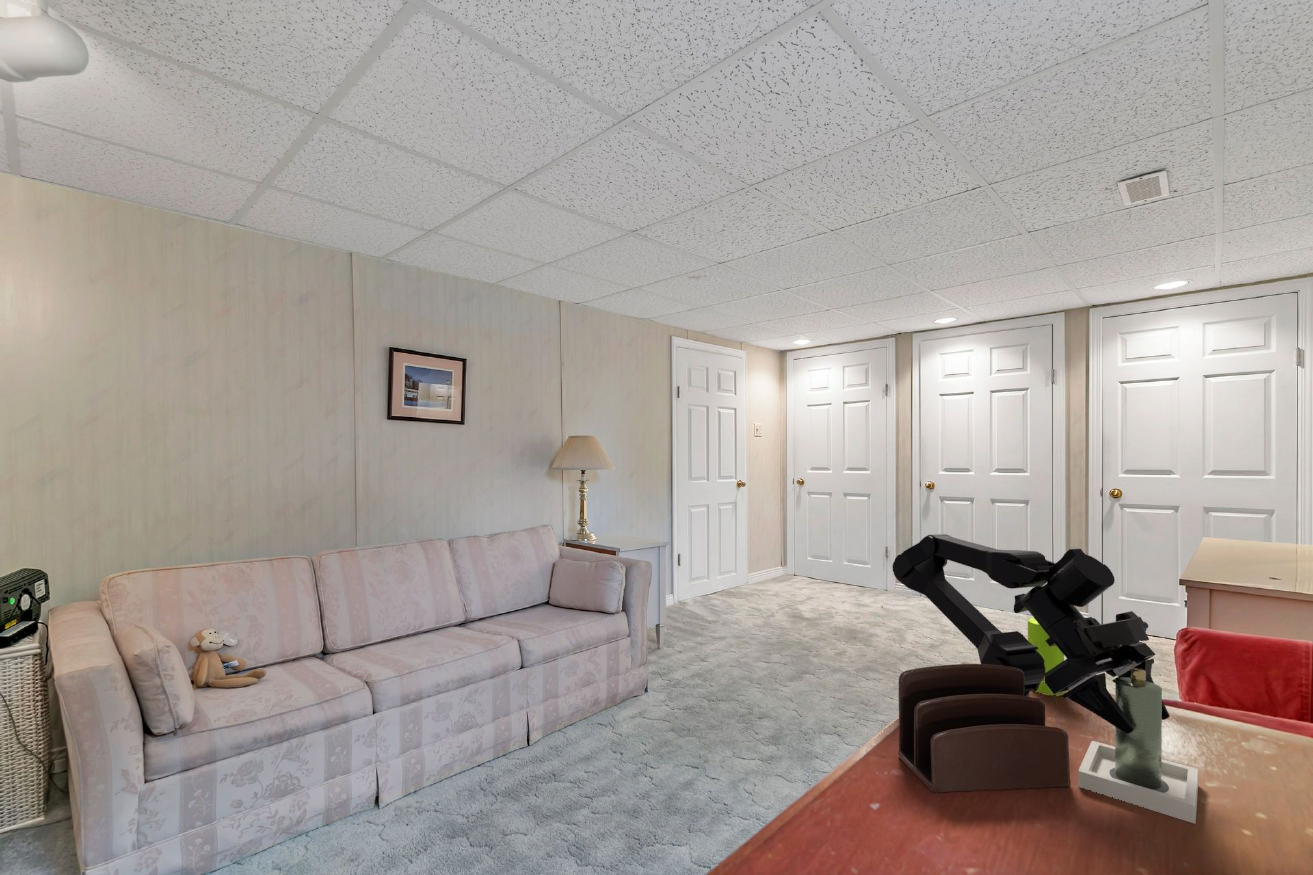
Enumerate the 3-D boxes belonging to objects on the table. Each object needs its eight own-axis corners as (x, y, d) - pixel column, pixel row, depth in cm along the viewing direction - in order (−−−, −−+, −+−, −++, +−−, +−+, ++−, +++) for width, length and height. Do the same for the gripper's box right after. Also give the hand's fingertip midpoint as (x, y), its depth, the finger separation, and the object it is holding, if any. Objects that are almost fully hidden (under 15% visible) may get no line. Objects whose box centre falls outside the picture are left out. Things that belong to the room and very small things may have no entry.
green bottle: (1105, 770, 85) (1106, 663, 86) (1137, 768, 86) (1137, 662, 86) (1138, 790, 81) (1138, 677, 81) (1171, 788, 81) (1171, 676, 81)
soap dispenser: (1076, 697, 113) (1075, 590, 114) (1035, 694, 115) (1034, 588, 115) (1062, 685, 119) (1060, 583, 120) (1023, 683, 120) (1022, 582, 121)
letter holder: (897, 757, 91) (896, 663, 92) (1022, 752, 93) (1021, 660, 93) (932, 794, 81) (931, 689, 82) (1071, 789, 83) (1070, 685, 83)
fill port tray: (1078, 786, 83) (1078, 770, 83) (1092, 755, 92) (1091, 740, 92) (1195, 823, 75) (1195, 805, 75) (1198, 784, 84) (1197, 768, 84)
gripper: (1066, 600, 83) (1163, 712, 73) (1138, 586, 92) (1234, 685, 81) (1011, 641, 90) (1093, 749, 80) (1082, 625, 98) (1165, 721, 88)
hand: (1149, 725), depth 82 cm, fingers open, 9 cm apart
